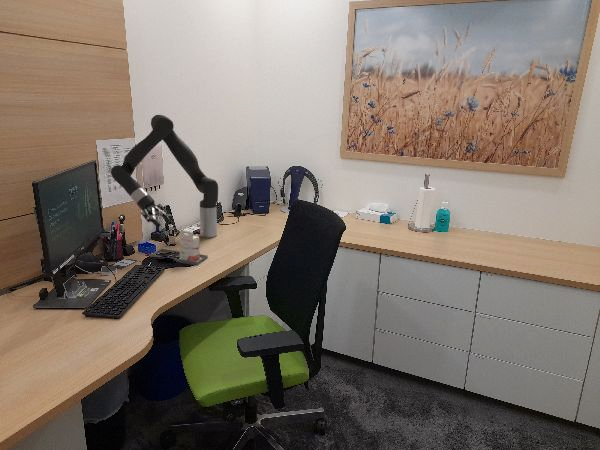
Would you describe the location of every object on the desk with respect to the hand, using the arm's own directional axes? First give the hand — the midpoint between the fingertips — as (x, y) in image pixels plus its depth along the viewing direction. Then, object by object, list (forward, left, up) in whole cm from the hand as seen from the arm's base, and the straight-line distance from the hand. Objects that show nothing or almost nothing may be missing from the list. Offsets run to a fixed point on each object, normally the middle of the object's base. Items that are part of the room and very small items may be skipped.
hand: (164, 224), depth 213 cm
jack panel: (+2, +9, -16) cm, 18 cm away
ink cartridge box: (+2, +15, -16) cm, 22 cm away
